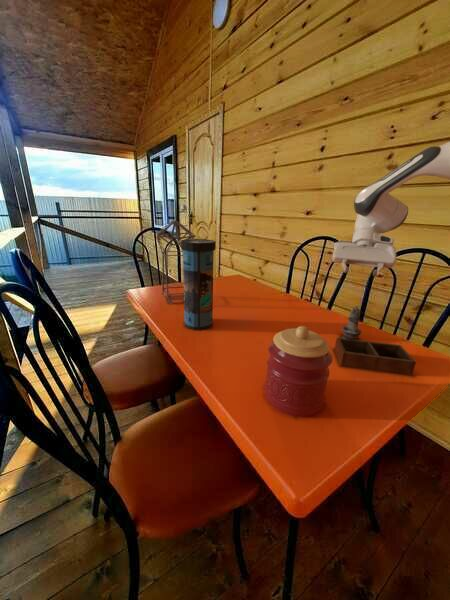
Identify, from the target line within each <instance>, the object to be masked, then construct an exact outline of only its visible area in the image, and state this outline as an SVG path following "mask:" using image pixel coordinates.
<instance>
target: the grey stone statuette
mask: <svg viewBox="0 0 450 600" xmlns="http://www.w3.org/2000/svg"><path fill="white" fill-rule="evenodd" d="M360 317H361V309H360V308H358V306H357V305H355V307H354V308H351V309H350V313H349V316H348V318H347V320H348V321H347V324H346V325H344V326H342V327H341V329H342V333H343V336H342V338H345V339H353V340H358V338H359V337H360V335H361V334H362V330H361V329H360V328H359V322H361V319H360Z"/></svg>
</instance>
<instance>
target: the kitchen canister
mask: <svg viewBox="0 0 450 600" xmlns="http://www.w3.org/2000/svg"><path fill="white" fill-rule="evenodd" d="M267 349H268V353H269V356H268V358H267V361H266V367H267V369H266V377H265V378H266V379H265V381H264V393H265V399H266V400H267V402H268V403H269V404H270V406H272V407H273V408H274V409H276V410H277V411H279V412H281V413H283V414H285V415H288V416H291V417H296V418H306V417H312V416H314V415H316V414H317V413H319V412H320V411H321V410H322V407H323V406H324V403H325V399H326V391H327V390H326V389H327V384H328V379H329V377H330V368H329V367H330V366H331V365H332V363H333V356H332V354H331V352H330V351H331V350H330V349H331V346H330V344H329V342H328V341H327V340H326V339H325V338H323V337H322V335H320V334H318V333H316V332H315V331H312V330H309V329H308V327H307V326H306V325H305V326H304V325H300V326H298V327H291V328H286V329H284V330H281V331H279V332H277V333H275V335H274V336H273V339H272V341H271V343H269V345H268V348H267Z"/></svg>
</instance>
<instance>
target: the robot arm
mask: <svg viewBox="0 0 450 600" xmlns="http://www.w3.org/2000/svg"><path fill="white" fill-rule="evenodd" d="M422 176H423V177H424V176H425V177H426V176H430V177H437V178H438V177H439V178H442V179H446V180H450V141H447V142H445V143H443V144H440V145H438V146H437V145H435V146H430V147H427V148H425V149H424V150H421V151H420V152H419V153H417V154H415V155H414V156H412V157H411V158H409V159H408V160H406V161H405V162H403V163H402V164H400V165H399V166H397V167H396V168H395V169H393V170H391V171H390V172H388V173H387V174H386V175H384V176H383V177H381V178H380V179H378V180H376V181H374V182H373V183H371V184H368V185H367V186H365V187H363V188H362V189H361V190H360V191H359V192H357V194H356V195H355V197H354V200H353V209H354V212H355V213H356V214H357V215H356V218H355V221H354V222H355V223H354V226H353V227H354V228H353V229H354V232H353V234H352V239H351V241H350V240H339V241H336V242H335V243H334V244H333V253H332V258H331V260H332V262H333V263H335V264H341V266H342V269H343V273H345V274H348V273H349V269H350V266H347V265H355V266H356V265H357V266H365V267H375V268H377V269H374V270H373V272H372V277H378V276H379V274H380V272H381V271H382V270H383V268H385V269H392V268H393V267H395V265H396V263H397V249H396V247H395V246H394V242H395V239H394V238H392V237H389V236H386V235H383V234H385V233H389V232H390V231H393V230H396V229H397V228H398V229H399V227H402V225H403V224H404V223H405V221H406V219H407V218H408V215H409V206H408V205H407V204H405V203H403V202H402V201H401V200H399V199H398V198H397V197H395V196H394V195H392V194H390V193H392V192H393V191H394V190H396V189H398V188H399V187H400V186H402V185H404V184H405V183H407V182H408V181H410V180H412V179H414V178H417V177H422ZM378 278H379V277H378Z"/></svg>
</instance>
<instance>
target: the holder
mask: <svg viewBox="0 0 450 600" xmlns="http://www.w3.org/2000/svg"><path fill="white" fill-rule="evenodd" d="M333 350H334V352H335V355H336V357H337V360H338V363H339V366H340V367H344V368H353V369H359V370H366V371H373V372H380V373H388V374H396V375H402V376H403V375H404V376H409V377H412V376H413V373H414V370H415V366H416V363H417V361H416V360H415V359H414V358H413V357H412V356H411V355H410V354H409V352H408V351H407V350H406V349H405V348H404V347H403V345H401V344H395V343H394V344H393V343H387V342H386V343H385V342H377V341H369V340H361V339H357V340H353V339H345V338H343V337H336V338H335V344H334V349H333Z"/></svg>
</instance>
